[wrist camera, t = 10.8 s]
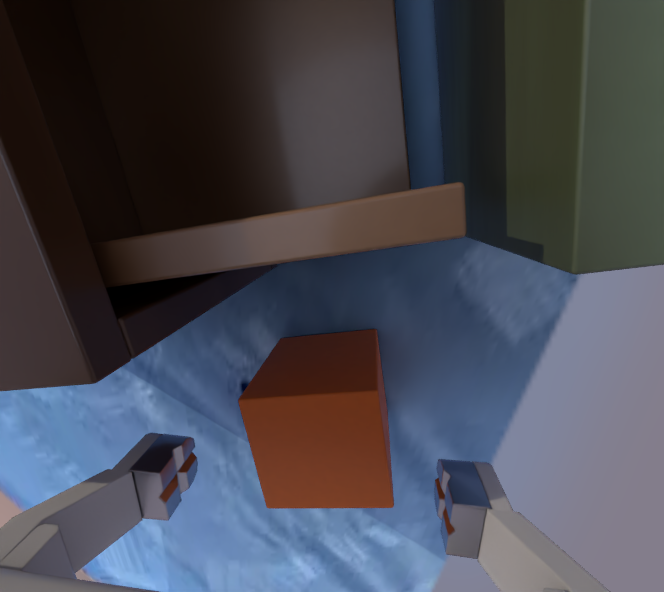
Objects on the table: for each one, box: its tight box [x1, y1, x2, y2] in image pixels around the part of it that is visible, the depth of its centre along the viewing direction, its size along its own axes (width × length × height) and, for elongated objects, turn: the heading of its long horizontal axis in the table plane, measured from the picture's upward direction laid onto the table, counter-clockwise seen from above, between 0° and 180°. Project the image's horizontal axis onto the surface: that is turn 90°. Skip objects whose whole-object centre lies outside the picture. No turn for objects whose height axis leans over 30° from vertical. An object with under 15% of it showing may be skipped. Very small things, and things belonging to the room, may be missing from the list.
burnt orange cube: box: [238, 329, 394, 508], centre depth 13 cm, size 5×5×5 cm
